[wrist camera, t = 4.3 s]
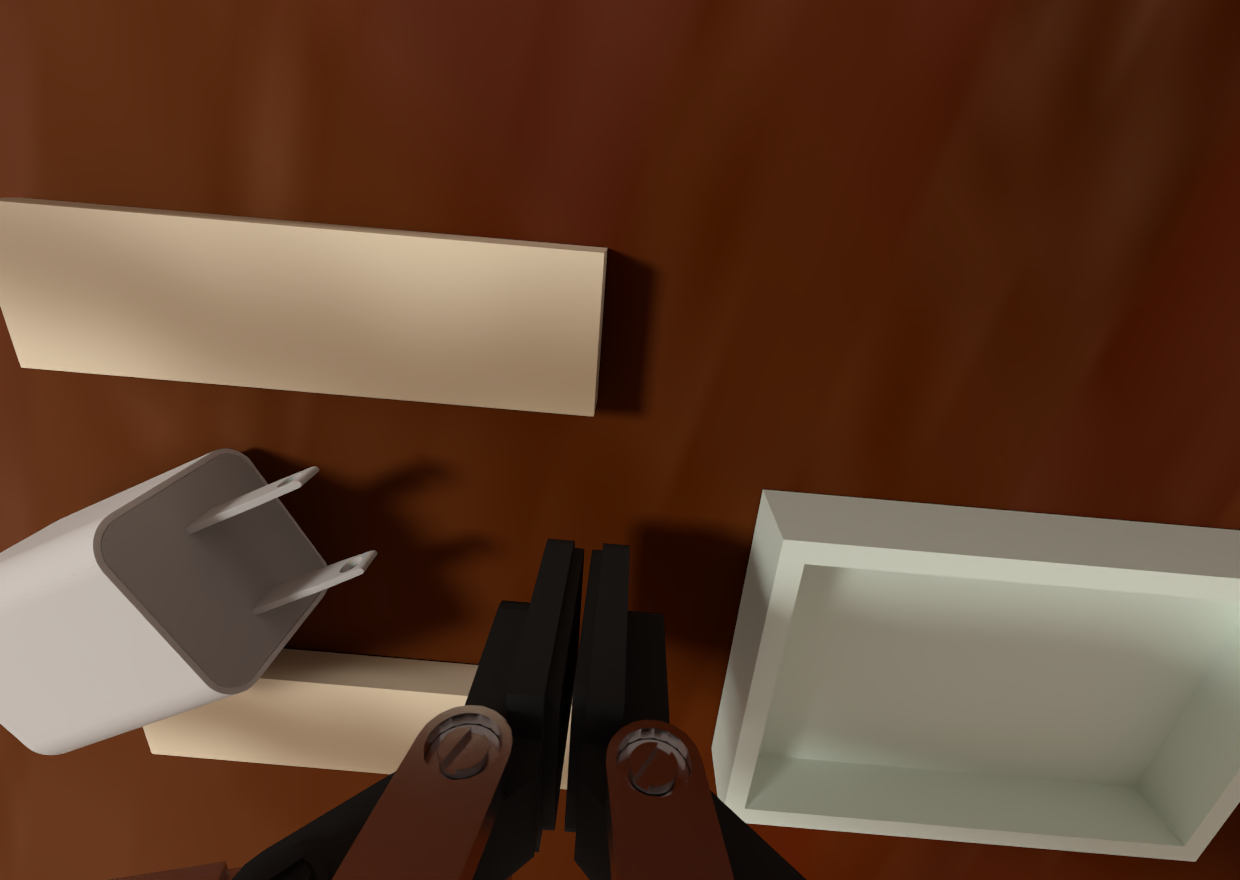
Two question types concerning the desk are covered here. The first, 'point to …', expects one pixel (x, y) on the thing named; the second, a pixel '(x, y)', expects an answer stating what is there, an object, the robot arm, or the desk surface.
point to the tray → (984, 677)
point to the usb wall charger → (154, 602)
